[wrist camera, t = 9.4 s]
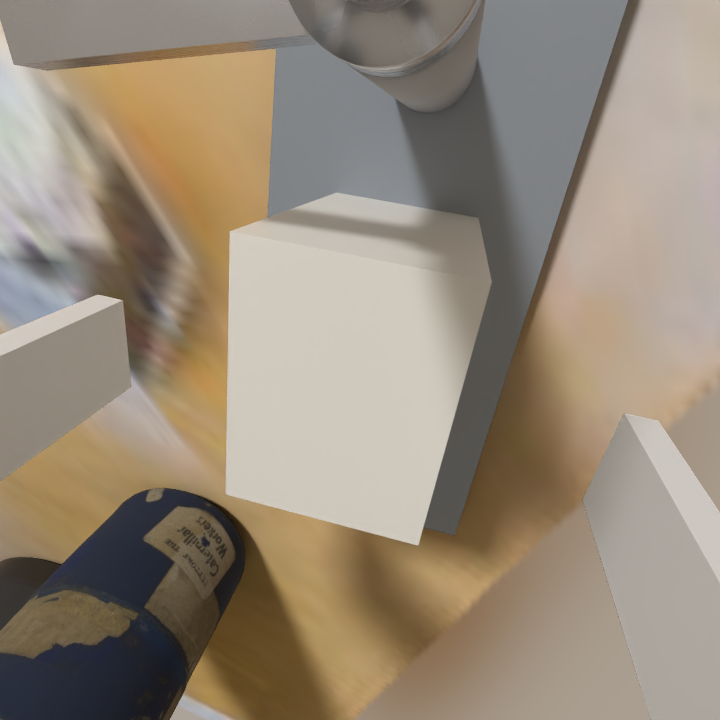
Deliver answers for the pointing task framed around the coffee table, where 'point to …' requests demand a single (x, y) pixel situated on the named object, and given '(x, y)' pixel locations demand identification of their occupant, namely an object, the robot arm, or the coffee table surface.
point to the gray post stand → (457, 164)
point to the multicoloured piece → (233, 30)
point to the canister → (123, 614)
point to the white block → (349, 357)
